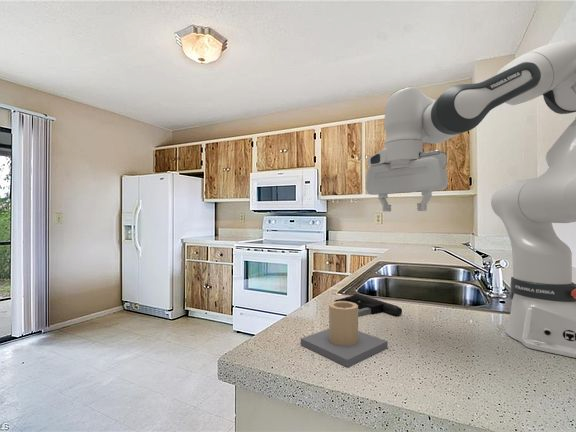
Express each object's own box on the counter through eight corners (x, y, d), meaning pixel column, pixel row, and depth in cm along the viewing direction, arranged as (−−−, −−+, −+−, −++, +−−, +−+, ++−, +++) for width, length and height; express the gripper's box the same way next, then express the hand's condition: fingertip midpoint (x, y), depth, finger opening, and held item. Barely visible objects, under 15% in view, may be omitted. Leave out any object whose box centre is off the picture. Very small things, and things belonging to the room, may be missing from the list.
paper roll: (363, 340, 71) (363, 305, 71) (345, 348, 67) (345, 311, 67) (342, 332, 76) (342, 299, 76) (323, 339, 71) (323, 304, 71)
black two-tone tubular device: (365, 317, 85) (405, 305, 93) (322, 300, 103) (359, 291, 110) (365, 329, 85) (405, 316, 93) (323, 310, 103) (359, 300, 111)
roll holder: (387, 347, 70) (387, 310, 70) (347, 367, 61) (347, 324, 61) (340, 330, 81) (340, 298, 81) (300, 344, 72) (300, 308, 72)
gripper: (452, 150, 70) (453, 210, 70) (376, 162, 86) (376, 211, 86) (439, 146, 66) (440, 210, 66) (362, 159, 82) (362, 211, 82)
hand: (403, 211), depth 76 cm, fingers open, 8 cm apart
